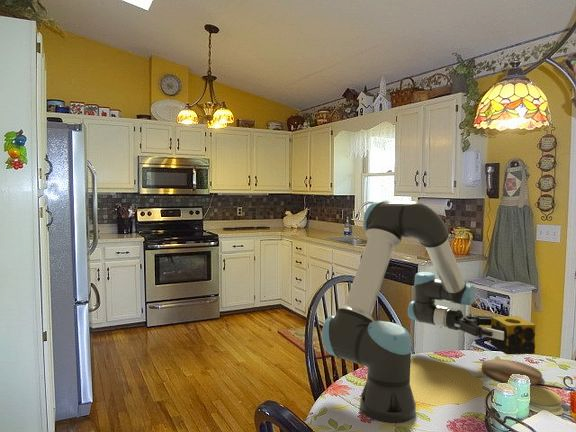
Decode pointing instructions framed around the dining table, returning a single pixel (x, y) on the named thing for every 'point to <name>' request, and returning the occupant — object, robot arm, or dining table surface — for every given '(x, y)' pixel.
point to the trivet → (510, 370)
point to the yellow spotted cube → (514, 335)
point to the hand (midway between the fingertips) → (510, 331)
